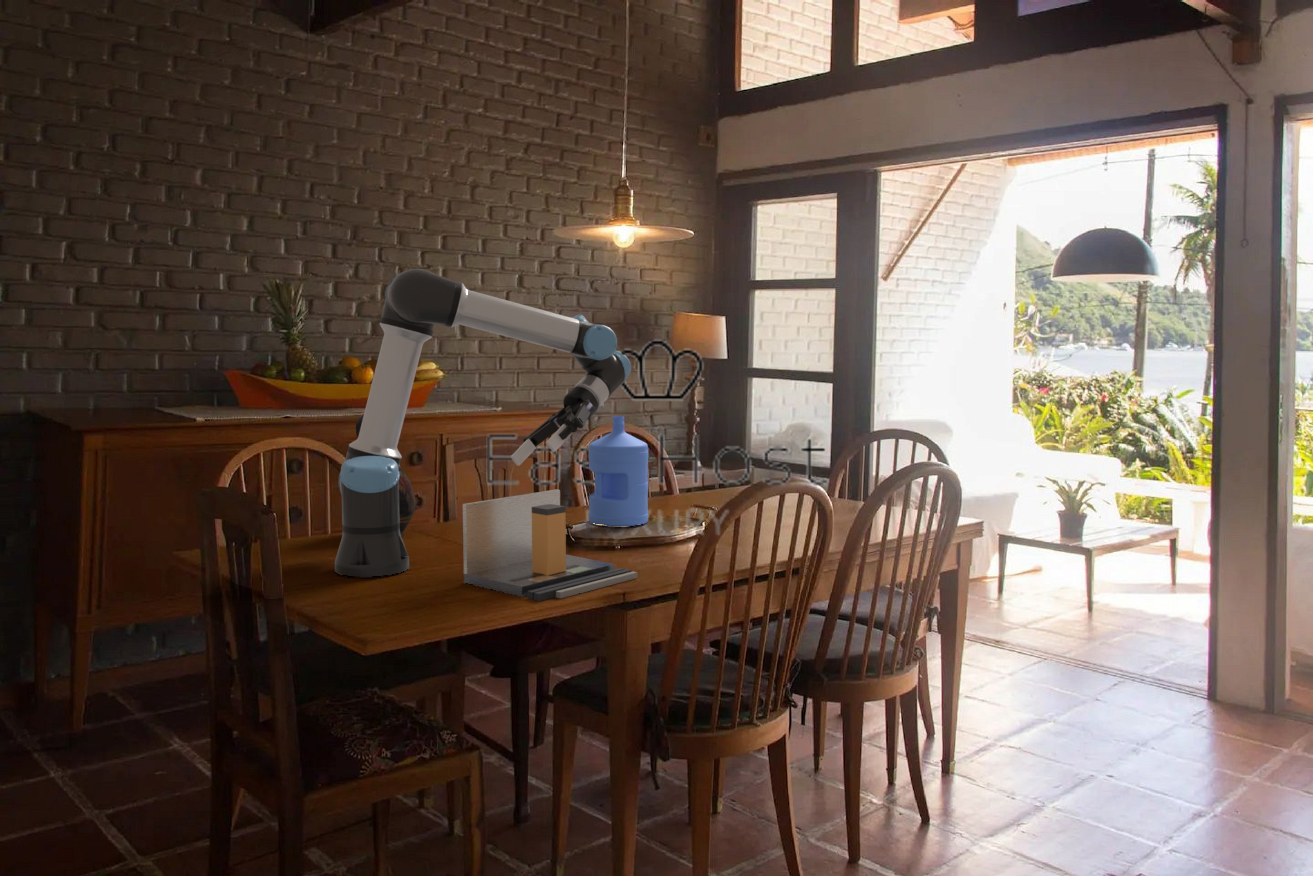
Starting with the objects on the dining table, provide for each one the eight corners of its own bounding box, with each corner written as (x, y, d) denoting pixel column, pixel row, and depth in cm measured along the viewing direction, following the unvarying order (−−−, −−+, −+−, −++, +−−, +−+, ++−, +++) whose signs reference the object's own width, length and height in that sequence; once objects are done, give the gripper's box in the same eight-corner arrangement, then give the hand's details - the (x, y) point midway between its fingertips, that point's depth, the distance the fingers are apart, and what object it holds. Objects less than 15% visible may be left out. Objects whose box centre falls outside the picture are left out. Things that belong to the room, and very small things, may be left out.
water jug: (623, 515, 290) (623, 413, 287) (660, 523, 278) (660, 417, 275) (576, 521, 280) (576, 416, 277) (612, 530, 268) (612, 420, 265)
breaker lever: (547, 575, 210) (547, 509, 208) (532, 572, 213) (531, 506, 211) (565, 571, 214) (565, 506, 212) (550, 567, 216) (549, 503, 215)
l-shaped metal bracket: (521, 597, 201) (520, 513, 199) (463, 583, 212) (462, 504, 210) (614, 573, 221) (614, 497, 219) (557, 561, 232) (556, 489, 230)
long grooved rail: (544, 602, 197) (544, 595, 197) (527, 598, 200) (527, 591, 200) (637, 578, 217) (637, 571, 217) (619, 574, 220) (619, 567, 220)
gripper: (629, 397, 234) (577, 454, 221) (563, 424, 252) (511, 479, 239) (609, 370, 232) (555, 426, 219) (544, 400, 250) (490, 453, 237)
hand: (532, 454), depth 229 cm, fingers open, 13 cm apart
